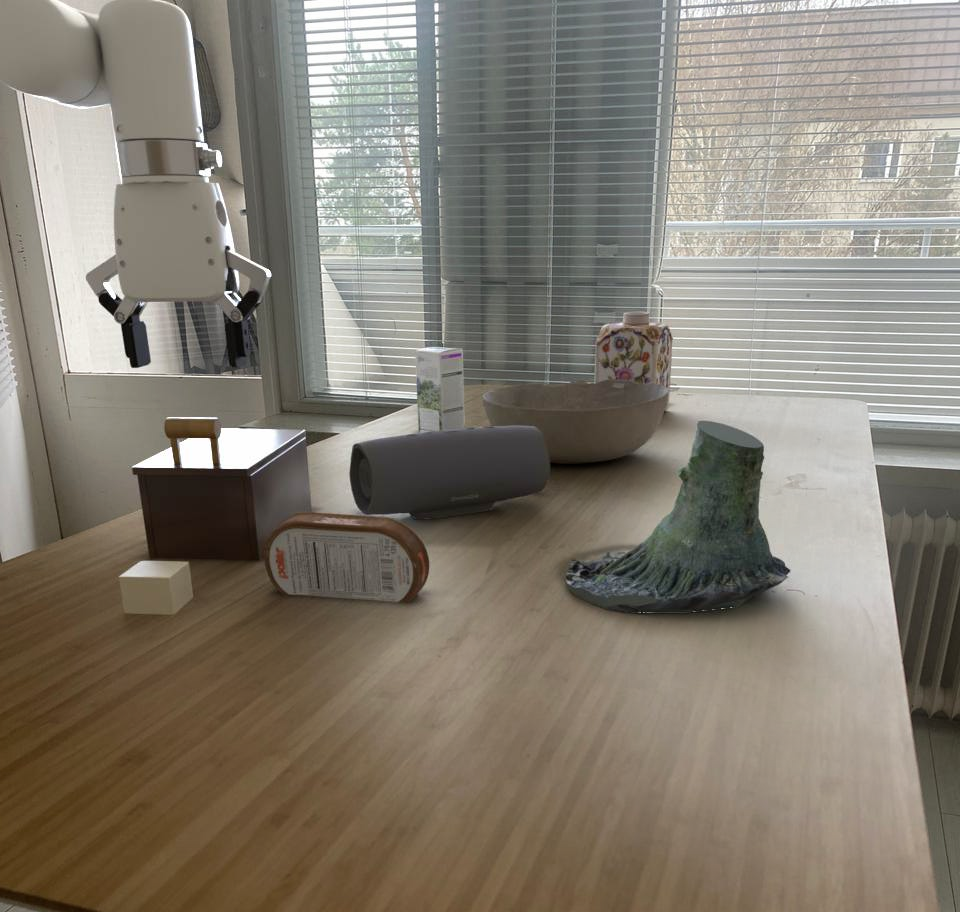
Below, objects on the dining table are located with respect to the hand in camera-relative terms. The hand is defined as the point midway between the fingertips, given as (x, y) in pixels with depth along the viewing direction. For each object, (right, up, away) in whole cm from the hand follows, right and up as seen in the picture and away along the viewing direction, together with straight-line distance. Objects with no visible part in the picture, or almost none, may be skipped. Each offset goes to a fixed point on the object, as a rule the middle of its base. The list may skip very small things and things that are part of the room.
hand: (189, 365), depth 93 cm
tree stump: (+46, -21, 0) cm, 51 cm away
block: (-1, -24, -6) cm, 25 cm away
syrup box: (+21, +7, +69) cm, 72 cm away
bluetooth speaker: (+24, -11, +26) cm, 37 cm away
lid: (+1, -6, +11) cm, 13 cm away
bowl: (+42, +2, +55) cm, 70 cm away
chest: (+1, -15, +15) cm, 22 cm away
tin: (+16, -23, -4) cm, 28 cm away
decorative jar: (+56, +16, +90) cm, 107 cm away
